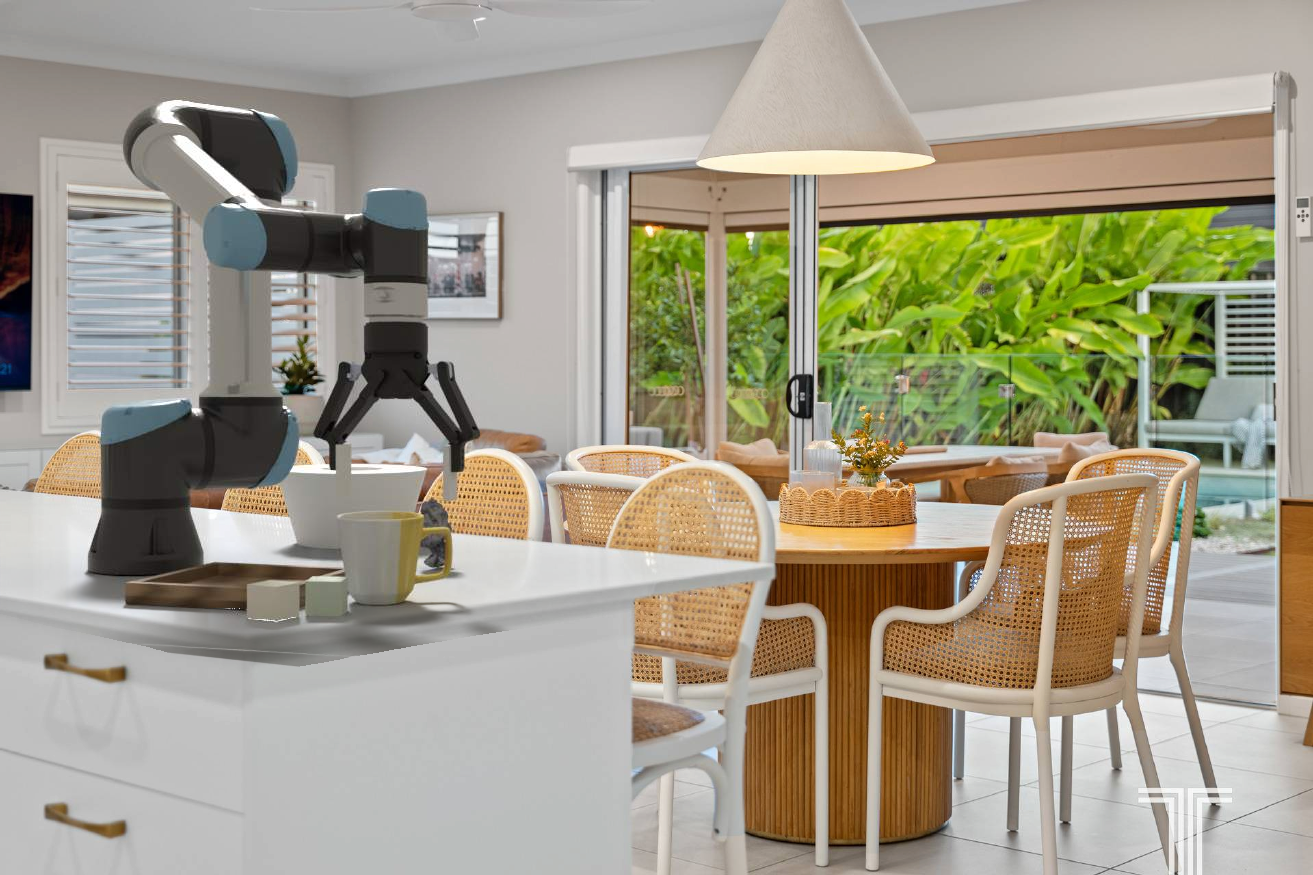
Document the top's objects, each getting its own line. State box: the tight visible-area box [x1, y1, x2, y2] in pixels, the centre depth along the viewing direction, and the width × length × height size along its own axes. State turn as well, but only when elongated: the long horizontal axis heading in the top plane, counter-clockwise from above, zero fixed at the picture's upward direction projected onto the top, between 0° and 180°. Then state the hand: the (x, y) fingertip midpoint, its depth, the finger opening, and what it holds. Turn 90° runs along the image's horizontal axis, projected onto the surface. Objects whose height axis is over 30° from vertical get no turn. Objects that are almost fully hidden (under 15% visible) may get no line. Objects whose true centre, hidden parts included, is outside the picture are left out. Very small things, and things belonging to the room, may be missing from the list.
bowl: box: [279, 463, 428, 550], centre depth 233 cm, size 24×24×12 cm
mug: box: [337, 511, 453, 606], centre depth 173 cm, size 14×10×10 cm
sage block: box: [304, 576, 349, 617], centre depth 164 cm, size 4×4×4 cm
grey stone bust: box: [420, 496, 453, 569], centre depth 204 cm, size 5×5×10 cm
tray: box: [124, 561, 345, 610], centre depth 176 cm, size 20×20×2 cm
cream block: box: [246, 580, 300, 621], centre depth 160 cm, size 4×4×4 cm
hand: (396, 499), depth 172 cm, fingers open, 13 cm apart
